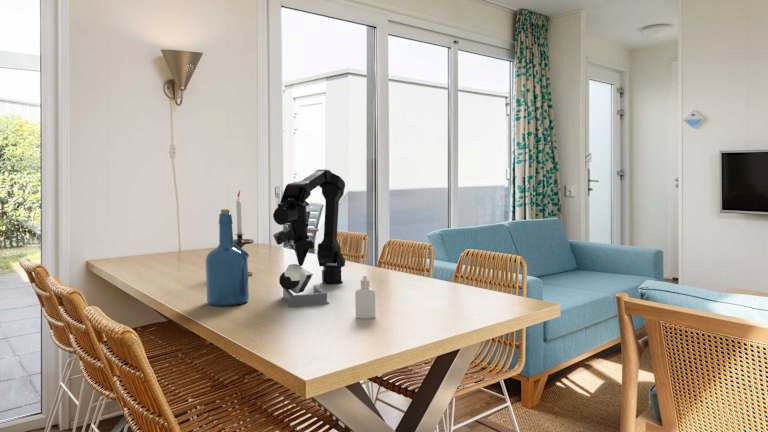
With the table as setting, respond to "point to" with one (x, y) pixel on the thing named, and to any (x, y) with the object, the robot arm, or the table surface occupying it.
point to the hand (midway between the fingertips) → (300, 265)
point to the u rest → (305, 298)
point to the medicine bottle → (295, 278)
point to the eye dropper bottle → (365, 300)
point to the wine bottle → (227, 268)
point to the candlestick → (239, 240)
